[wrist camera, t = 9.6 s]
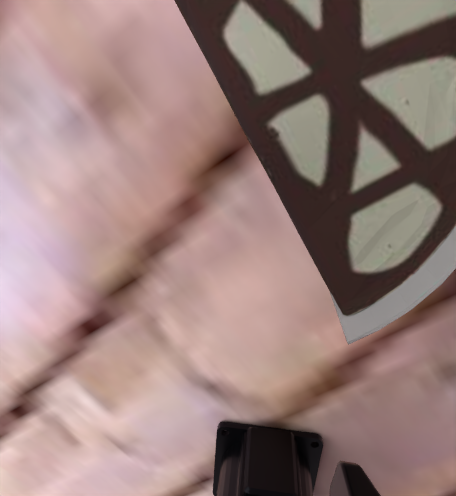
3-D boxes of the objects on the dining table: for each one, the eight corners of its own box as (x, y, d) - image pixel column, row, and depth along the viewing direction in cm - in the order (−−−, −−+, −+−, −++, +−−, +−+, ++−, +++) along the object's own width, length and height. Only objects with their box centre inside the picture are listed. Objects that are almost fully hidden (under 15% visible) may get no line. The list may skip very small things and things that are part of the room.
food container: (440, 170, 17) (639, 256, 8) (314, 230, 19) (356, 361, 10) (322, -129, 14) (430, -588, 5) (181, -23, 15) (50, -202, 6)
